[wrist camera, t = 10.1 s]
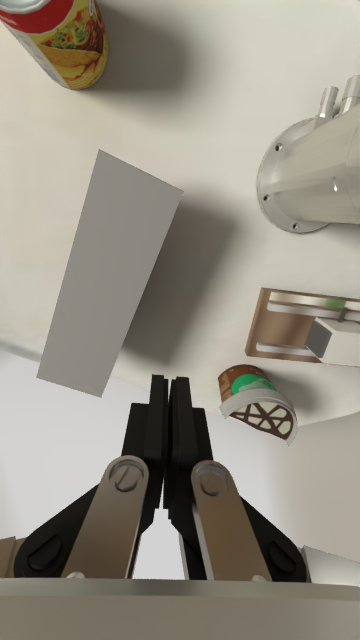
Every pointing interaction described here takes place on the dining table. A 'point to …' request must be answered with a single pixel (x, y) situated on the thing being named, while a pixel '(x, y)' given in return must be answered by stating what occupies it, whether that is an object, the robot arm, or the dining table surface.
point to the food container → (256, 402)
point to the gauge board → (292, 322)
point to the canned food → (60, 37)
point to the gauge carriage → (335, 340)
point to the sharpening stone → (106, 272)
